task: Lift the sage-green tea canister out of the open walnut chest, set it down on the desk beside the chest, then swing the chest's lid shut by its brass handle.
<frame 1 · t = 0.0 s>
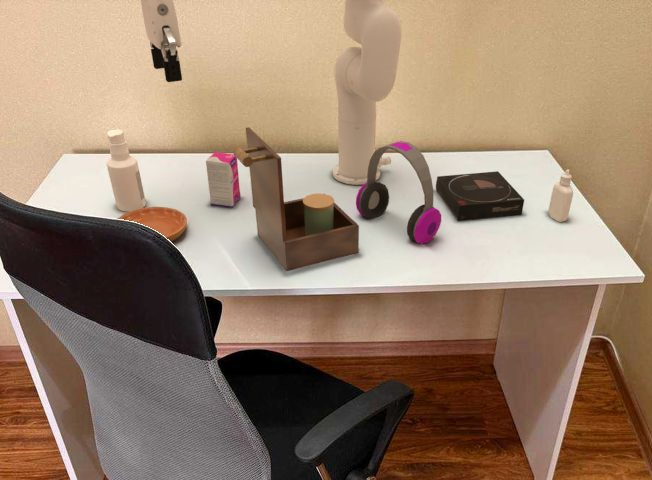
hand: (167, 74, 139), 31 cm above the table, tool pointing down, fingers open, 9 cm apart
headphones: (396, 229, 153), on the table
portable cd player: (477, 202, 165), on the table
supplement box: (226, 202, 162), on the table
eye dropper bottle: (557, 217, 160), on the table
saucer: (152, 234, 149), on the table
spray bottle: (131, 206, 159), on the table
chest: (307, 246, 146), on the table
lid: (254, 186, 131), point 17 cm above the table, hinge at 90.0°
canister: (319, 240, 146), point 1 cm above the table, touching chest
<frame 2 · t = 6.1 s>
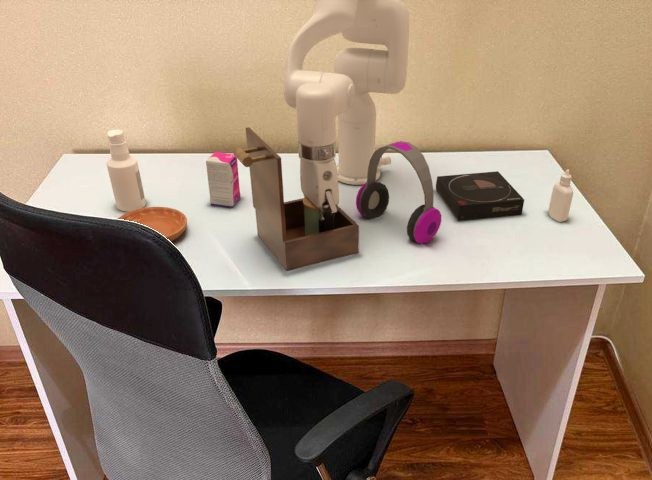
hand: (319, 227, 144), 4 cm above the table, tool pointing down, fingers closed on canister, 6 cm apart
canister: (319, 240, 146), point 1 cm above the table, touching chest, gripper
everything else where it was.
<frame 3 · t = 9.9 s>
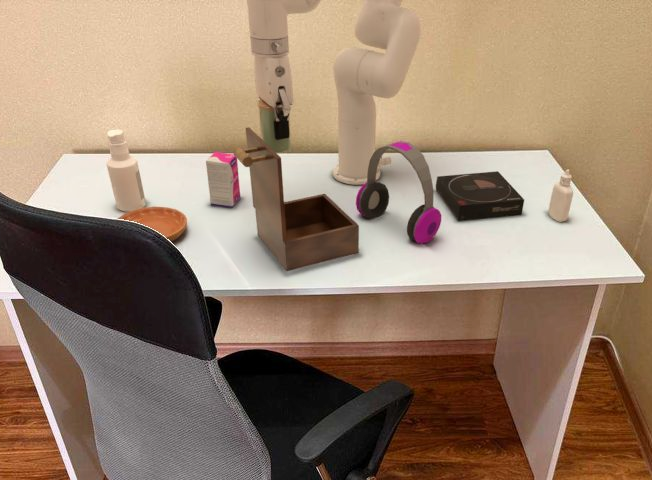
hand: (275, 132, 143), 20 cm above the table, tool pointing down, fingers closed on canister, 6 cm apart
canister: (276, 146, 146), point 17 cm above the table, touching gripper
everything else where it was.
when the fingers open (3 cm above the table, at t = 14.2 s): canister stays where it is, on the table.
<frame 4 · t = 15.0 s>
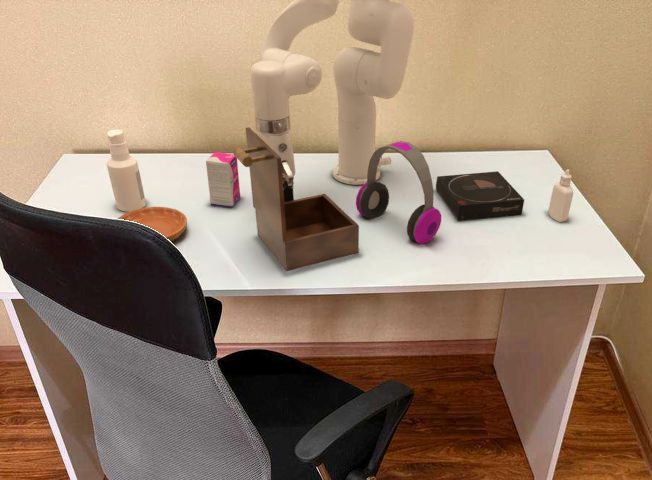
hand: (278, 195, 154), 5 cm above the table, tool pointing down, fingers open, 9 cm apart
canister: (278, 215, 157), on the table
everything else where it was.
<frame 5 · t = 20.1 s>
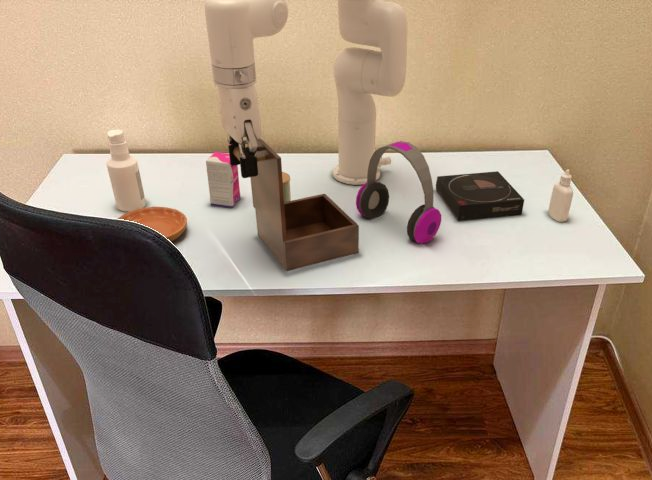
hand: (244, 169, 128), 21 cm above the table, tool pointing down, fingers closed on lid, 5 cm apart
lid: (254, 186, 131), point 17 cm above the table, hinge at 90.0°, touching gripper
everything else where it was.
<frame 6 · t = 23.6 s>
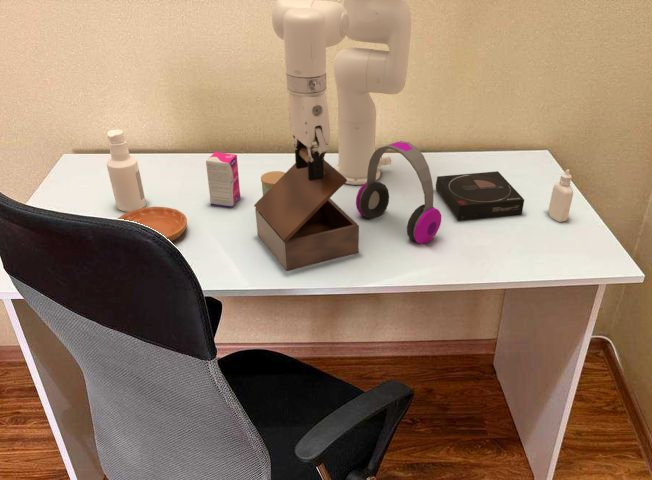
hand: (309, 172, 135), 17 cm above the table, tool pointing down, fingers closed on lid, 5 cm apart
lid: (291, 186, 135), point 15 cm above the table, hinge at 37.3°, touching gripper
everything else where it was.
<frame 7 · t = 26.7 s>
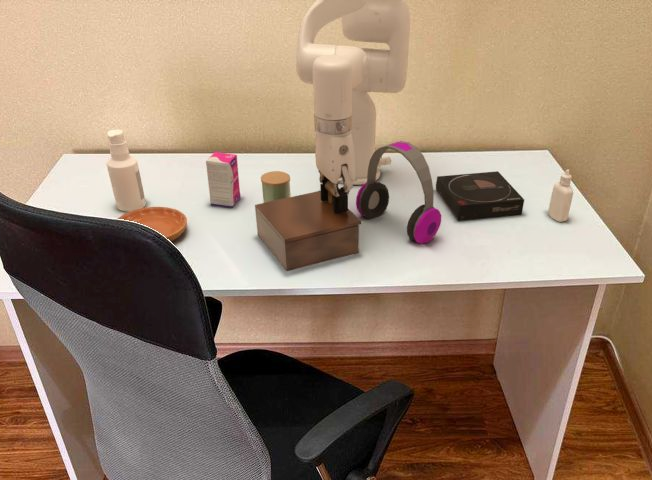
hand: (334, 205, 143), 9 cm above the table, tool pointing down, fingers closed on lid, 5 cm apart
lid: (306, 204, 140), point 10 cm above the table, hinge at 0.3°, touching gripper
everything else where it was.
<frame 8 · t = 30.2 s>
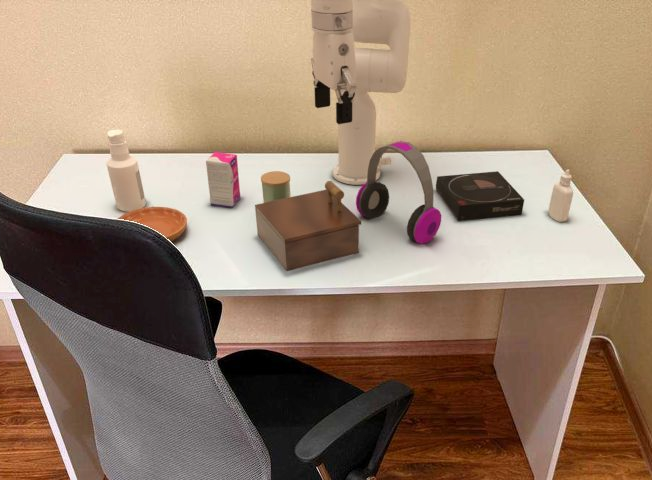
hand: (333, 114, 131), 28 cm above the table, tool pointing down, fingers open, 9 cm apart
lid: (306, 204, 140), point 10 cm above the table, hinge at 0.3°
everything else where it was.
at the end: canister inside the target area (0.2 cm from its centre), on the table; canister tilted 0°; lid at +0° (first picture: +90°) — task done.
